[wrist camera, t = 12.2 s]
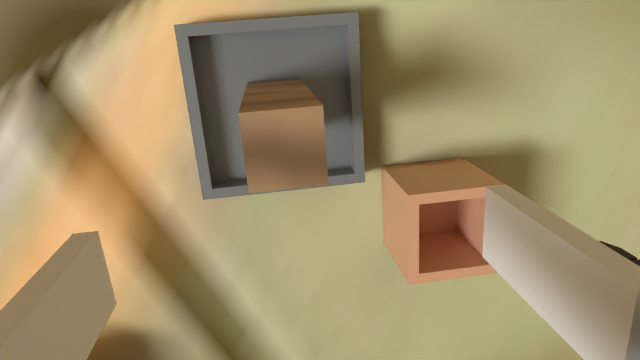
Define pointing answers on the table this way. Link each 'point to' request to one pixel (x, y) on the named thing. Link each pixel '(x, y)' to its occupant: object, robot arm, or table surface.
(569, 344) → the robot arm
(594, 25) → the table surface
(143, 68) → the table surface
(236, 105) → the charcoal tray
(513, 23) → the table surface
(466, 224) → the square pink sleeve
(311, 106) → the walnut peg
